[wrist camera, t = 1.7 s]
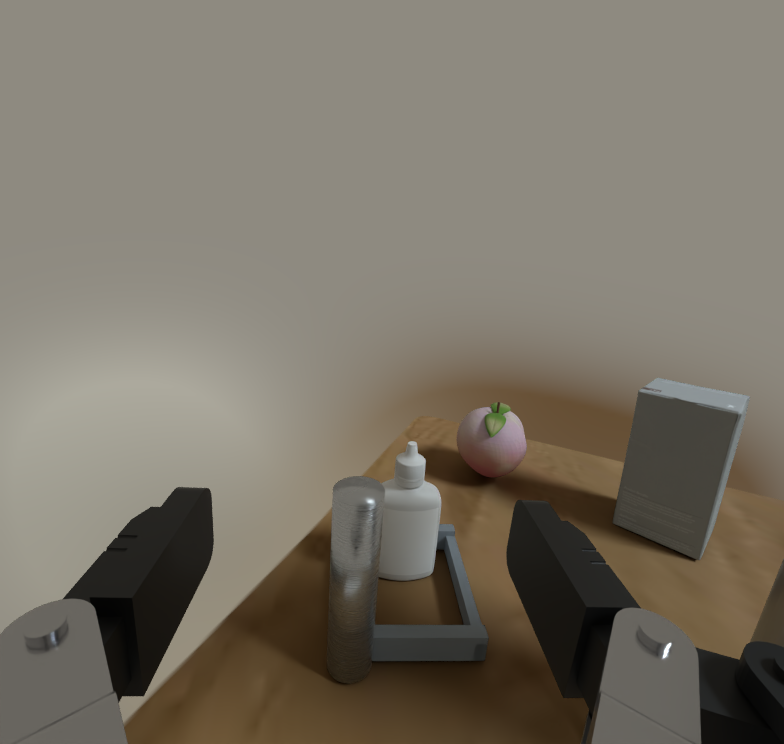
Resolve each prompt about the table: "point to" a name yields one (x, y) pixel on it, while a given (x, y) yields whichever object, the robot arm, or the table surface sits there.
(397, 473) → the eye dropper bottle
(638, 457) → the skincare box
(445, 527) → the pull frame
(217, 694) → the table surface
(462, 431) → the decorative fruit
